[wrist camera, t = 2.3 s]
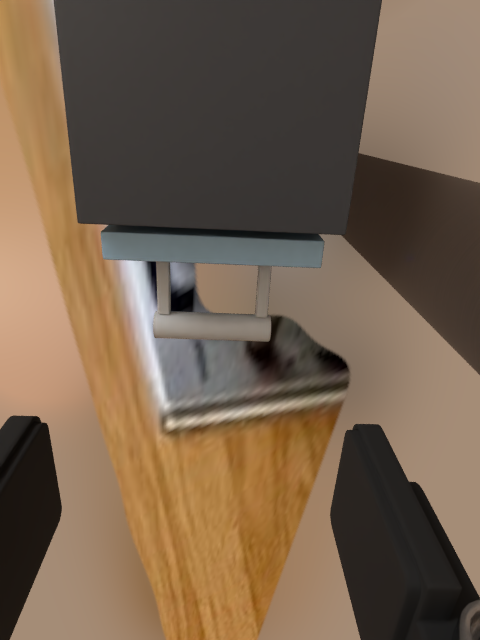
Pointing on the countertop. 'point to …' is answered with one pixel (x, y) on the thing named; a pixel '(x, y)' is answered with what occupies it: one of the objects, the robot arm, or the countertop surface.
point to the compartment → (216, 110)
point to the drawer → (212, 250)
